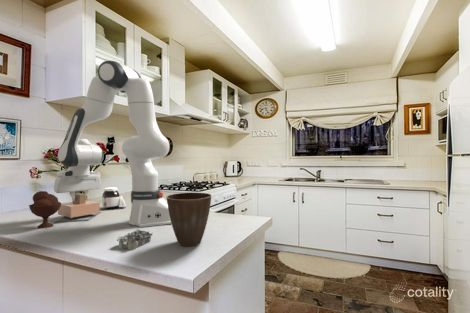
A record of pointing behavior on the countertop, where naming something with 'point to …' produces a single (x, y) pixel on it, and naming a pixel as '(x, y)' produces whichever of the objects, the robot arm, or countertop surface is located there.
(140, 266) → the countertop surface
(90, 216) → the mat
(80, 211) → the cover
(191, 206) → the plant pot
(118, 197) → the spread jar
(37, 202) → the ice cream bowl
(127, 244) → the egg carton
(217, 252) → the countertop surface
